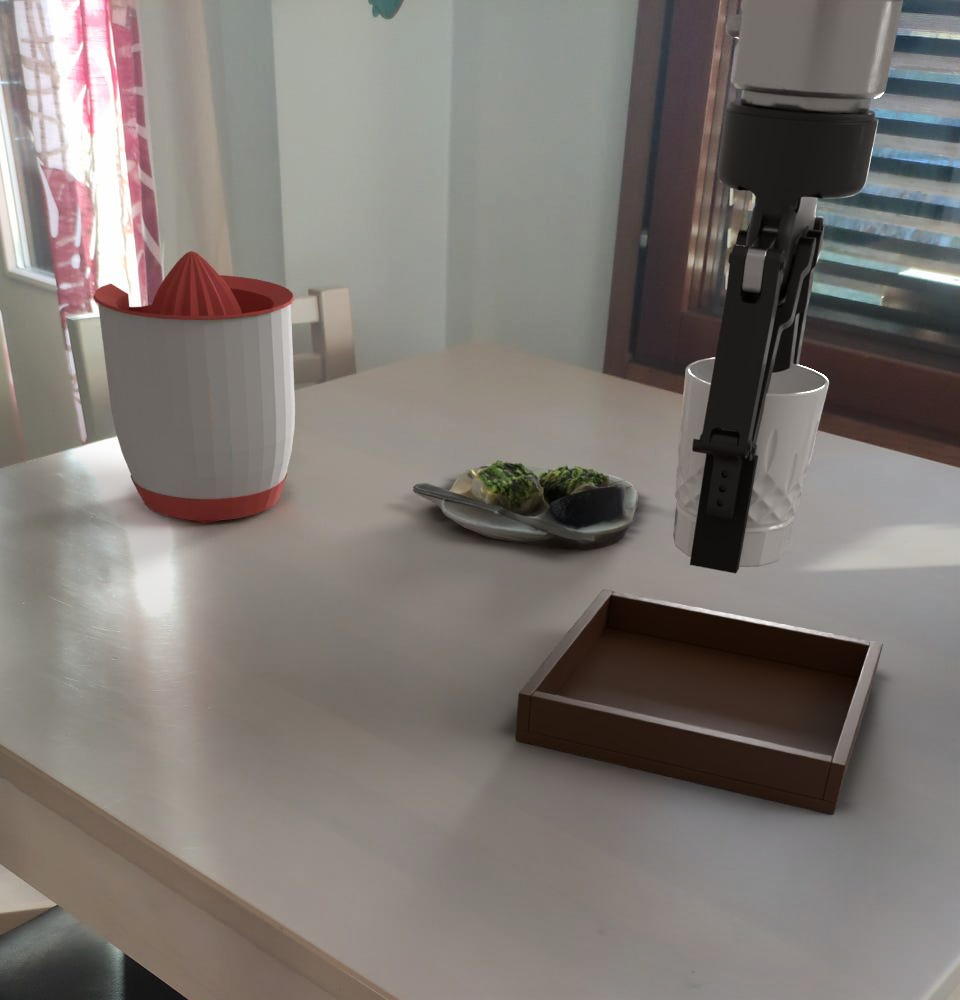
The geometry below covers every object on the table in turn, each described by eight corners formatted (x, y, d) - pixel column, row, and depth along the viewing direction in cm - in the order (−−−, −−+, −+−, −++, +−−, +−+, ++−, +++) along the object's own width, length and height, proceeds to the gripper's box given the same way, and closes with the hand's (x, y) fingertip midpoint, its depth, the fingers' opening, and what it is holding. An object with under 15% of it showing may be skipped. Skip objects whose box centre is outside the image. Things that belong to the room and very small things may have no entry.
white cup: (684, 574, 72) (710, 394, 66) (647, 524, 78) (668, 356, 72) (814, 571, 73) (851, 394, 67) (768, 522, 79) (798, 356, 74)
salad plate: (389, 539, 104) (389, 484, 102) (438, 472, 119) (439, 422, 116) (620, 566, 102) (627, 511, 99) (642, 495, 116) (648, 444, 113)
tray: (872, 687, 86) (883, 643, 84) (833, 815, 72) (845, 766, 71) (598, 631, 91) (603, 588, 90) (514, 740, 78) (518, 693, 76)
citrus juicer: (212, 456, 120) (194, 224, 108) (339, 503, 111) (333, 255, 99) (70, 493, 110) (34, 242, 98) (196, 549, 101) (172, 279, 89)
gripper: (767, 84, 71) (707, 483, 84) (679, 107, 55) (621, 592, 69) (903, 95, 69) (819, 502, 82) (851, 121, 53) (757, 619, 66)
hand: (729, 542), depth 75 cm, fingers closed on white cup, 7 cm apart
